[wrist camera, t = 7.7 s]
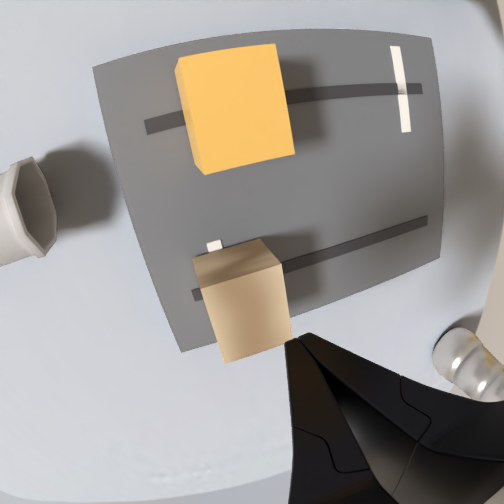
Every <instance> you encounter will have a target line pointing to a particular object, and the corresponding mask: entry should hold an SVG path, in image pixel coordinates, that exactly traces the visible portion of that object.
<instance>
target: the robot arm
mask: <svg viewBox="0 0 504 504" xmlns="http://www.w3.org/2000/svg"><path fill="white" fill-rule="evenodd" d="M284 347H285V358H286V368H287V379H288V391H289V402H290V414H291V426H292V443H293V460H292V474H291V483H290V492H289V500H288V504H504V400H502V401H497V402H482V401H477V400H473V399H469V398H465V397H462V396H458V395H454V394H451V393H448V392H444V391H441V390H438V389H435V388H432V387H429V386H426V385H423V384H421V383H418V382H416V381H414V380H411V379H409V378H407V377H404V376H400V375H399V374H397V373H395V372H393V371H391V370H389V369H386V368H384V367H382V366H380V365H378V364H375V363H373V362H371V361H369V360H367V359H365V358H363V357H360V356H358V355H356V354H354V353H352V352H350V351H348V350H346V349H343V348H341V347H339V346H337V345H335V344H333V343H331V342H329V341H327V340H325V339H323V338H321V337H319V336H316V335H314V334H312V333H306V334H304V335H301V336H299V337H298V338H293V339H291V340H288V341H286V342H285V343H284Z"/></svg>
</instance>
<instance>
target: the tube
mask: <svg viewBox="0 0 504 504" xmlns="http://www.w3.org/2000/svg"><path fill="white" fill-rule="evenodd" d="M56 226H57V213H56V210H55V207H54V204H53V201H52V198H51V195H50V191H49V188H48V185H47V181H46V178H45V176H44V175H43V173H42V171H41V170H40V168H39V166H38V165H37V163H36V161H35V160H34V158H33V157H29V158H27V159H24V160H21V161H18V162H16V163H14V164H12V165H10V169H9V170H8V171H6V172H5V173H2V174H0V267H1V266H4V265H6V264H9V263H12V262H15V261H18V260H21V259H23V258H26V257H29V256H34V255H35V256H36V257H37V258H41V257H44V256H46V254H47V253H48V251H49V250H50V248H51V247H52V246H53V244H54V243H55V242H56Z"/></svg>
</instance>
